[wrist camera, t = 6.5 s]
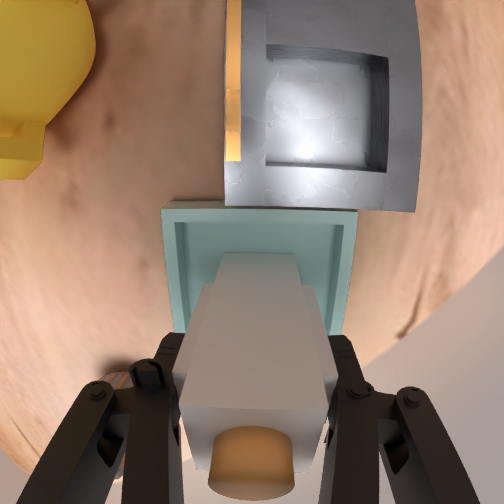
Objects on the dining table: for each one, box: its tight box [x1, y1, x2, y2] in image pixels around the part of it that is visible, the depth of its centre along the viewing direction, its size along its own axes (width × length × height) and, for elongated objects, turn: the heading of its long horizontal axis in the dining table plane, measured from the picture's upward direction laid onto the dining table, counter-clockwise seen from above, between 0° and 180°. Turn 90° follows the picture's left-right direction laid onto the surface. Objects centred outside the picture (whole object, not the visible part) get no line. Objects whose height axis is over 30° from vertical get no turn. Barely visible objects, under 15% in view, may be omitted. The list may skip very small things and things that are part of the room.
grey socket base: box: [224, 0, 422, 213], centre depth 12 cm, size 9×18×4 cm, turn 0°
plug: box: [179, 253, 329, 501], centre depth 13 cm, size 4×4×12 cm
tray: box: [161, 200, 358, 335], centre depth 18 cm, size 10×10×2 cm
